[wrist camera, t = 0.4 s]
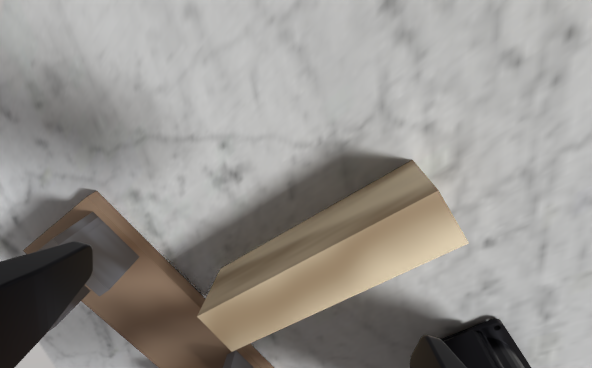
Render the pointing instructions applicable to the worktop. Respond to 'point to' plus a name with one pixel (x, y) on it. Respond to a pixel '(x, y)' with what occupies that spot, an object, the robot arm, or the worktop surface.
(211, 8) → the worktop surface
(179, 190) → the worktop surface
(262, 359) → the frame
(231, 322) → the beige wooden bar
